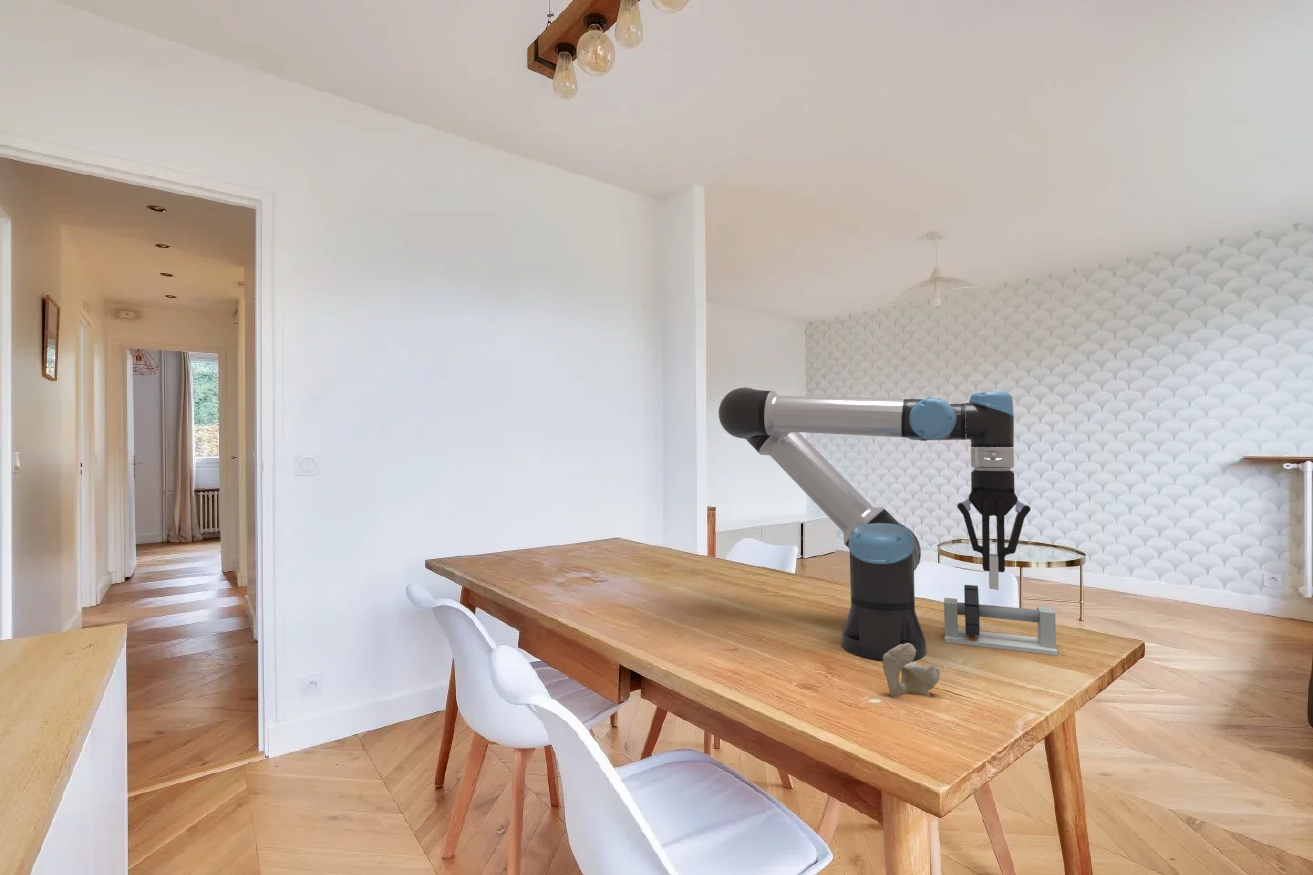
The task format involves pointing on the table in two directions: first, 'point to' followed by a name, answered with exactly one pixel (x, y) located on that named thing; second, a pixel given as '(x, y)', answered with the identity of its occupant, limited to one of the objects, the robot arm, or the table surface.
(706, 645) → the table surface
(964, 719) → the table surface
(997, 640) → the pipe rig
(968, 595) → the o-ring
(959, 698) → the table surface
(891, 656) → the bone
